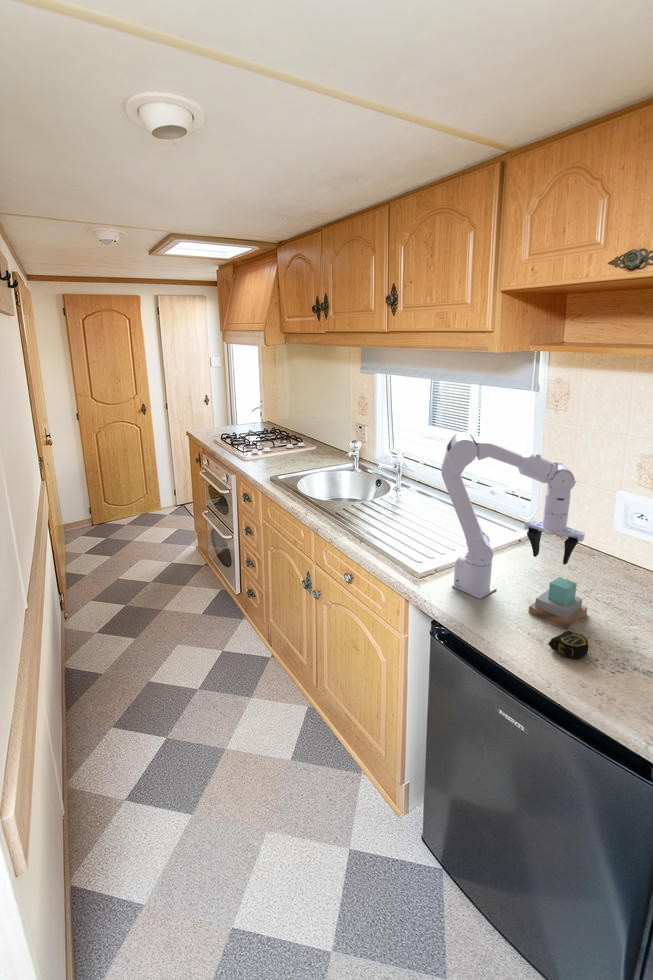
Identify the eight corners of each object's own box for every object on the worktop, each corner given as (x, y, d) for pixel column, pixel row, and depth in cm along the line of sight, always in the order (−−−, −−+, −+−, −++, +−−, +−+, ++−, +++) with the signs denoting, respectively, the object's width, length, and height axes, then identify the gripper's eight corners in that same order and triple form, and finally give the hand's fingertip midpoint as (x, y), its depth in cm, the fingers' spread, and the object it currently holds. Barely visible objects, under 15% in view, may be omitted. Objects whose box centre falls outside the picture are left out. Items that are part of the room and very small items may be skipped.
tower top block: (535, 606, 132) (535, 598, 131) (550, 595, 137) (551, 587, 136) (565, 619, 126) (567, 610, 125) (581, 607, 131) (582, 598, 130)
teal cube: (548, 598, 131) (549, 582, 130) (557, 592, 134) (559, 576, 132) (565, 605, 128) (567, 589, 126) (574, 599, 130) (576, 583, 129)
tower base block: (528, 614, 133) (529, 606, 132) (548, 601, 139) (549, 592, 138) (566, 631, 126) (567, 622, 125) (586, 616, 132) (587, 607, 131)
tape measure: (566, 640, 122) (568, 626, 120) (593, 655, 116) (596, 640, 115) (547, 650, 118) (549, 635, 117) (574, 666, 113) (576, 651, 112)
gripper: (522, 509, 136) (517, 557, 140) (581, 522, 127) (574, 572, 131) (532, 502, 141) (527, 548, 145) (589, 513, 132) (582, 562, 136)
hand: (550, 559), depth 138 cm, fingers open, 7 cm apart
